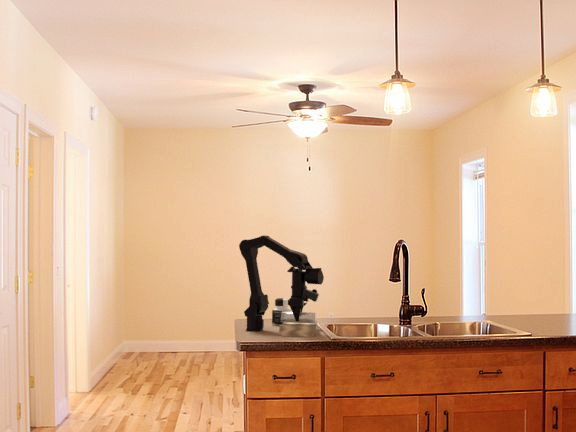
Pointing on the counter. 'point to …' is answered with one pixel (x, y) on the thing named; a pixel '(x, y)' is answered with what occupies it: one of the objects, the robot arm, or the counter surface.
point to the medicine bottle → (279, 310)
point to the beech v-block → (297, 329)
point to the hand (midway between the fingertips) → (298, 320)
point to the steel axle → (304, 317)
